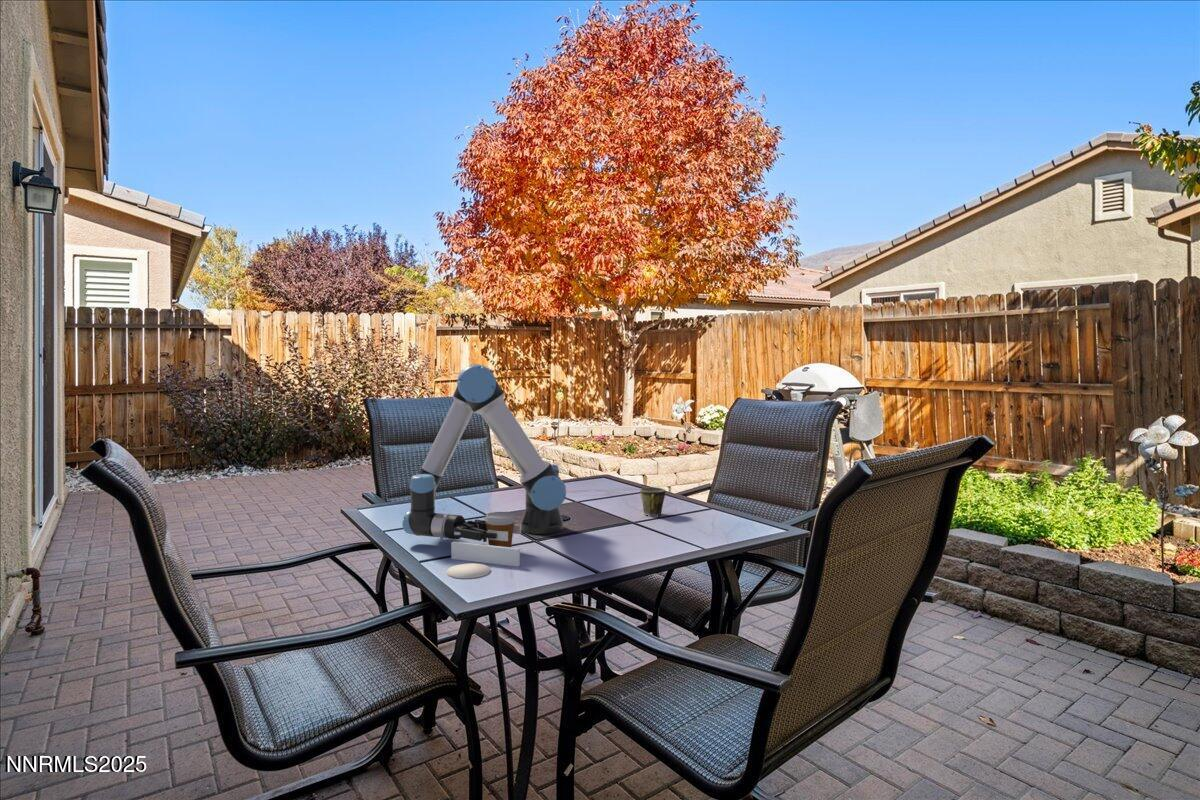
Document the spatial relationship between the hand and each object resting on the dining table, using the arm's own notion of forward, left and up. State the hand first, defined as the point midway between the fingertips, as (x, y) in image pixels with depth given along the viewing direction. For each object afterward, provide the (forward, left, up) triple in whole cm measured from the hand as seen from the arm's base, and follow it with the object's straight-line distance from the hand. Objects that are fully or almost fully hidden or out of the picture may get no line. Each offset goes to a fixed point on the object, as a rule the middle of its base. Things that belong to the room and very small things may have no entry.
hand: (514, 532), depth 200 cm
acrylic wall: (+7, +8, -7) cm, 13 cm away
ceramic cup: (-42, -57, -7) cm, 71 cm away
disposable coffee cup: (+5, -1, -7) cm, 8 cm away
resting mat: (+9, +17, -7) cm, 21 cm away
